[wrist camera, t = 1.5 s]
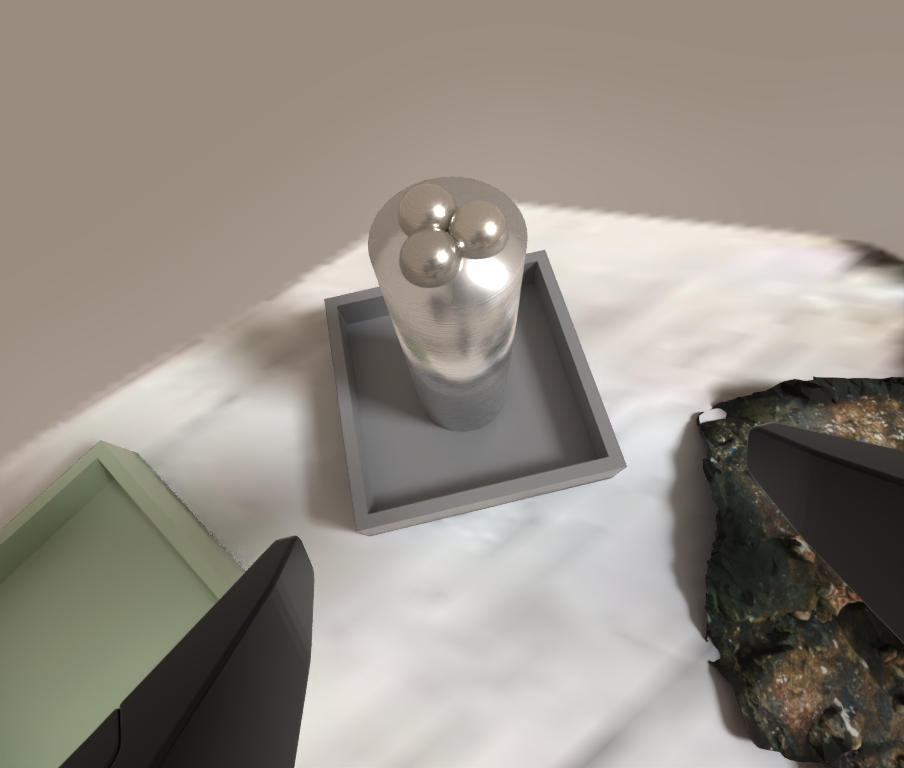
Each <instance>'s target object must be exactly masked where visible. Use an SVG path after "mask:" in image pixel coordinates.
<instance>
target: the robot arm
mask: <svg viewBox="0 0 904 768" xmlns="http://www.w3.org/2000/svg"><path fill="white" fill-rule="evenodd" d="M746 464H747V468H748V470H749V472H750V474H751V476H752V477H753V478H754V479H755V481H756V482H757V483H758V484H759V486H760V487H761V488H762V489H763V491H764V492H765V493H766V494H767V496H768V497H769V498H770V499H771V501H772V502H773V503H774V504H775V506H776V507H777V508H778V509H779V511H780V512H781V513H782V514H783V516H784V517H785V518H786V519H787V521H788V522H789V523H790V524H791V526H792V527H793V528H794V529H795V530H796V531H797V533H798V534H799V535H800V536H801V537H802V538H803V540H804V541H805V542H806V543H807V544H808V545H809V546H810V547H811V548H812V549H813V550H814V551H815V552H816V553H817V554H818V555H819V557H820V558H821V559H822V560H823V561H824V562H825V563H826V564H827V565H828V566H829V567H830V568H831V569H832V570H833V571H834V572H835V573H836V574H837V575H838V576H839V577H840V578H841V579H842V580H843V581H844V582H845V583H846V584H847V585H848V586H849V588H850V589H851V590H852V591H853V592H854V593H855V594H856V595H857V596H858V597H859V598H860V599H861V600H862V601H863V602H864V603H865V604H866V605H867V606H868V607H869V608H870V609H871V610H872V611H873V612H874V613H875V614H876V615H877V616H878V618H879V619H880V620H881V621H882V622H883V623H884V624H885V625H886V626H887V627H888V628H889V629H890V630H891V631H892V632H893V633H894V634H895V635H896V636H897V637H898V638H899V639H900V640H901V641H902V642H903V643H904V451H903V450H898V449H894V448H889V447H885V446H880V445H875V444H871V443H866V442H862V441H857V440H853V439H848V438H843V437H839V436H834V435H830V434H825V433H821V432H816V431H812V430H807V429H802V428H798V427H793V426H789V425H784V424H780V423H774V422H770V423H765V424H761V425H757V426H754V427H752V428H751V429H750V430H749V432H748V441H747V455H746ZM313 599H314V571H313V567H312V565H311V562H310V560H309V558H308V555H307V553H306V550H305V548H304V546H303V543H302V541H301V540H300V538H299V537H297V536H291V537H287V538H282V539H279V540H276V541H275V542H274V543H273V544H272V545H271V546H270V547H269V548H268V549H267V550H266V551H265V552H264V553H263V554H262V555H261V556H260V557H259V558H258V559H257V560H256V561H255V562H254V564H253V565H252V566H251V567H250V568H249V569H248V570H247V571H246V572H245V573H244V574H243V575H242V576H241V577H240V578H239V579H238V580H237V581H236V582H235V583H234V585H233V586H232V587H231V588H230V589H229V590H228V591H227V592H226V593H225V594H224V595H223V596H222V597H221V598H220V599H219V600H218V601H217V602H216V603H215V605H214V606H213V607H212V608H211V609H210V610H209V611H208V612H207V613H206V614H205V615H204V616H203V617H202V618H201V619H200V620H199V621H198V622H197V623H196V625H195V626H194V627H193V628H192V629H191V630H190V631H189V632H188V633H187V634H186V635H185V636H184V637H183V638H182V639H181V640H180V641H179V642H178V643H177V644H176V646H175V647H174V648H173V649H172V650H171V651H170V652H169V653H168V654H167V655H166V656H165V657H164V658H163V659H162V660H161V661H160V662H159V663H158V664H157V665H156V667H155V668H154V669H153V670H152V671H151V672H150V673H149V674H148V675H147V676H146V677H145V678H144V679H143V680H142V681H141V682H140V683H139V684H138V685H137V687H136V688H135V689H134V690H133V691H132V692H131V693H130V694H129V695H128V696H127V697H126V698H125V699H124V700H123V701H122V702H121V704H120V707H119V708H117V709H115V710H113V712H112V713H111V714H110V715H109V716H108V717H107V718H106V719H105V720H104V721H103V722H102V723H101V724H100V725H99V726H98V727H97V728H96V729H95V731H94V732H93V733H92V734H91V735H90V736H89V737H88V738H87V739H86V740H85V741H84V742H83V743H82V744H81V745H80V746H79V747H78V748H77V749H76V750H75V751H74V752H73V753H72V754H71V755H70V756H69V757H68V758H67V759H66V760H65V761H64V762H63V763H62V764H61V765H60V766H59V767H58V768H294V766H295V759H296V753H297V746H298V740H299V733H300V727H301V720H302V714H303V707H304V701H305V694H306V688H307V681H308V675H309V667H310V659H311V645H312V622H313Z"/></svg>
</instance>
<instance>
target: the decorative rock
mask: <svg viewBox="0 0 904 768" xmlns="http://www.w3.org/2000/svg"><path fill="white" fill-rule="evenodd" d="M715 408H720V409H722V410H724V411H726V412H727V416H726V418H725V419H721V420H716V421H710V422H705V423H702V424H700V421H699V416H698V418H697V425H698V426H700V434H701V435H702V436H703V437H704V438H705V439H706V441H707V444H708V447H709V450H708V454H707V459H703V468H704V472H705V476H706V478H707V480H708V482H709V485H710V487H711V489H712V499H713V500H714V502H715V503H716V504H717V506H718V507H719V508H720V509H719V511H718V513H717V515H716V522H717V530H716V533H715V536H716V542H714V543H713V544H712V545H713V548H714V550H713V551H712V553H711V559H710V560H709V561H707V563H708V569H707V575H706V587H707V591H708V594H707V593H706V605H707V607H706V606H705V609H706V613H707V619H708V624H707V629H708V630H707V633H706V641H707V642H708V640H707V636H708V635H709V636H711V637H712V640H713V642H714V644H715V646H716V648H717V649H718V650H719V651H720V654H721V658H720V659H718V660H716V661H715V662H711V661H709V662H710V664H712V665H713V666H715V667H716V668H717V669H718V670H719V672H720V673H721V674H722V675H723V676H724V677H725V678H726V679H727V680H728V681H729V682H730V683H731V685H732V686H733V687H734V690H735V694H736V698H737V700H738V702H739V704H740V707H741V710H742V713H743V717H744V722H745V726H746V729H747V732H748V734H749V736H750V738H751V739H752V741H753V742H754V744H755V745H756V746H757V747H759V748H761V749H766V750H772V751H777V752H780V753H781V754H782V755H783V756H784V757H785V758H787V759H789V760H793V761H798V762H817V763H828V764H830V765H831V766H832V767H833V768H904V643H903V642H902V641H901V640H900V639H899V638H898V637H897V636H896V635H895V634H894V633H893V632H892V631H891V630H890V629H889V628H888V627H887V626H886V625H885V624H884V623H883V622H882V621H881V620H880V619H879V618H878V616H877V615H876V614H875V613H874V612H873V611H872V610H871V609H870V608H869V607H868V606H867V605H866V604H865V603H864V602H863V601H862V600H861V599H860V598H859V597H858V596H857V595H856V594H855V593H854V592H853V591H852V590H851V589H850V588H849V586H848V585H847V584H846V583H845V582H844V581H843V580H842V579H841V578H840V577H839V576H838V575H837V574H836V573H835V572H834V571H833V570H832V569H831V568H830V567H829V566H828V565H827V564H826V563H825V562H824V561H823V560H822V559H821V558H820V557H819V555H818V554H817V553H816V552H815V551H814V550H813V549H812V548H811V547H810V546H809V545H808V544H807V543H806V542H805V541H804V540H803V538H802V537H801V536H800V535H799V534H798V533H797V531H796V530H795V529H794V528H793V527H792V526H791V524H790V523H789V522H788V521H787V519H786V518H785V517H784V516H783V514H782V513H781V512H780V511H779V509H778V508H777V507H776V506H775V504H774V503H773V502H772V501H771V499H770V498H769V497H768V496H767V494H766V493H765V492H764V491H763V489H762V488H761V487H760V486H759V484H758V483H757V482H756V481H755V479H754V478H753V477H752V476H751V474H750V472H749V470H748V468H747V464H746V455H747V441H748V432H749V430H750V429H751V428H752V427H754V426H757V425H761V424H765V423H770V422H774V423H780V424H784V425H789V426H793V427H798V428H802V429H807V430H812V431H816V432H821V433H825V434H830V435H834V436H839V437H843V438H848V439H853V440H857V441H862V442H866V443H871V444H875V445H880V446H885V447H889V448H894V449H898V450H903V451H904V377H890V378H885V379H870V378H850V379H846V378H820V377H814V378H813V380H810V381H802V380H797V379H793V380H788V381H784V382H782V383H779V384H777V385H776V386H774V387H773V388H771V389H769V390H767V391H763V392H756V393H753V394H752V395H748V396H744V397H737V398H736V399H733V400H729V401H727V402H721V403H718V404H717V405H716V406H714V408H712V409H715ZM702 413H703V412H701V413H700V414H699V415H701V414H702Z"/></svg>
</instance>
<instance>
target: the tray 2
mask: <svg viewBox="0 0 904 768" xmlns="http://www.w3.org/2000/svg"><path fill="white" fill-rule="evenodd" d="M324 300H325V307H326V315H327V322H328V329H329V336H330V344H331V351H332V358H333V365H334V373H335V380H336V387H337V395H338V402H339V409H340V416H341V424H342V431H343V438H344V446H345V453H346V460H347V467H348V475H349V482H350V489H351V496H352V504H353V511H354V518H355V526H356V532H359V533H362V534H365V535H368V536H372V535H376V534H380V533H385V532H389V531H393V530H397V529H401V528H405V527H410V526H414V525H418V524H422V523H426V522H430V521H435V520H439V519H443V518H447V517H451V516H455V515H459V514H464V513H468V512H472V511H476V510H480V509H484V508H489V507H493V506H497V505H501V504H505V503H509V502H514V501H518V500H522V499H526V498H530V497H534V496H539V495H543V494H547V493H551V492H555V491H559V490H563V489H568V488H572V487H576V486H580V485H584V484H588V483H593V482H597V481H601V480H605V479H609V478H612V477H613V476H615V475H616V474H618V473H619V472H620V471H622V470H623V469H624V468H626V467H627V466H626V463H625V460H624V458H623V455H622V452H621V450H620V447H619V445H618V442H617V439H616V437H615V434H614V431H613V429H612V426H611V423H610V421H609V418H608V415H607V413H606V410H605V407H604V405H603V402H602V400H601V397H600V394H599V392H598V389H597V386H596V384H595V381H594V378H593V376H592V373H591V370H590V368H589V365H588V363H587V360H586V357H585V355H584V352H583V349H582V347H581V344H580V341H579V339H578V336H577V333H576V331H575V328H574V325H573V323H572V320H571V318H570V315H569V312H568V310H567V307H566V304H565V302H564V299H563V296H562V294H561V291H560V288H559V286H558V283H557V281H556V278H555V275H554V273H553V270H552V267H551V265H550V262H549V259H548V257H547V254H546V251H545V250H542V251H537V252H533V253H528V254H526V255H525V262H524V270H523V277H522V284H521V292H520V299H519V306H518V313H517V321H516V328H515V335H514V342H513V350H512V357H511V364H510V371H509V379H508V386H507V393H506V399H505V403H504V405H503V408H502V410H501V411H500V413H499V414H498V415H497V417H496V418H495V419H494V420H493V421H492V422H490V423H489V424H487V425H486V426H484V427H482V428H480V429H477V430H473V431H468V432H457V431H451V430H448V429H445V428H443V427H441V426H439V425H437V424H436V423H435V422H433V421H432V420H431V419H430V418H429V416H428V415H427V414H426V412H425V411H424V409H423V407H422V404H421V401H420V399H419V396H418V393H417V390H416V387H415V384H414V382H413V379H412V376H411V373H410V370H409V368H408V365H407V362H406V359H405V356H404V353H403V351H402V348H401V345H400V342H399V339H398V336H397V334H396V331H395V328H394V325H393V322H392V320H391V317H390V314H389V311H388V308H387V305H386V303H385V300H384V297H383V294H382V291H381V288H380V287H377V288H372V289H368V290H363V291H359V292H354V293H350V294H345V295H341V296H336V297H332V298H327V299H324Z"/></svg>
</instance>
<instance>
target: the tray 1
mask: <svg viewBox="0 0 904 768" xmlns="http://www.w3.org/2000/svg"><path fill="white" fill-rule="evenodd" d="M244 573H245V571H244V570H243V569H242V568H241V567H240V566H239V565H238V563H237V562H236V561H235V560H234V559H233V558H232V557H231V556H230V555H229V554H228V552H227V551H226V550H225V549H224V548H223V547H222V546H221V545H220V544H219V542H218V541H217V540H216V539H215V538H214V537H213V536H212V535H211V534H210V533H209V531H208V530H207V529H206V528H205V527H204V526H203V525H202V524H201V523H200V522H199V520H198V519H197V518H196V517H195V516H194V515H193V514H192V513H191V512H190V510H189V509H188V508H187V507H186V506H185V505H184V504H183V503H182V502H181V501H180V499H179V498H178V497H177V496H176V495H175V494H174V493H173V492H172V491H171V489H170V488H169V487H168V486H167V485H166V484H165V483H164V482H163V481H162V480H161V478H160V477H159V476H158V475H157V474H156V473H155V472H154V471H153V470H152V469H151V467H150V466H149V465H148V464H147V463H146V462H145V461H144V460H143V459H142V457H141V456H140V455H139V454H138V453H135V452H132V451H130V450H127V449H124V448H121V447H118V446H115V445H112V444H110V443H107V442H104V441H100V442H99V443H98V444H96V445H95V446H94V447H93V448H92V449H91V450H90V451H89V452H87V453H86V454H85V455H84V456H83V457H82V458H81V459H80V460H79V461H77V462H76V463H75V464H74V465H73V466H72V467H71V468H70V469H68V470H67V471H66V472H65V473H64V474H63V475H62V476H61V477H60V478H58V479H57V480H56V481H55V482H54V483H53V484H52V485H51V486H49V487H48V488H47V489H46V490H45V491H44V492H43V493H42V494H41V495H39V496H38V497H37V498H36V499H35V500H34V501H33V502H32V503H30V504H29V505H28V506H27V507H26V508H25V509H24V510H23V511H22V512H20V513H19V514H18V515H17V516H16V517H15V518H14V519H13V520H11V521H10V522H9V523H8V524H7V525H6V526H5V527H4V528H3V529H1V530H0V768H58V767H59V766H60V765H61V764H62V763H63V762H64V761H65V760H66V759H67V758H68V757H69V756H70V755H71V754H72V753H73V752H74V751H75V750H76V749H77V748H78V747H79V746H80V745H81V744H82V743H83V742H84V741H85V740H86V739H87V738H88V737H89V736H90V735H91V734H92V733H93V732H94V731H95V729H96V728H97V727H98V726H99V725H100V724H101V723H102V722H103V721H104V720H105V719H106V718H107V717H108V716H109V715H110V714H111V713H112V712H113V710H115V709H117V708H119V707H120V704H121V702H122V701H123V700H124V699H125V698H126V697H127V696H128V695H129V694H130V693H131V692H132V691H133V690H134V689H135V688H136V687H137V685H138V684H139V683H140V682H141V681H142V680H143V679H144V678H145V677H146V676H147V675H148V674H149V673H150V672H151V671H152V670H153V669H154V668H155V667H156V665H157V664H158V663H159V662H160V661H161V660H162V659H163V658H164V657H165V656H166V655H167V654H168V653H169V652H170V651H171V650H172V649H173V648H174V647H175V646H176V644H177V643H178V642H179V641H180V640H181V639H182V638H183V637H184V636H185V635H186V634H187V633H188V632H189V631H190V630H191V629H192V628H193V627H194V626H195V625H196V623H197V622H198V621H199V620H200V619H201V618H202V617H203V616H204V615H205V614H206V613H207V612H208V611H209V610H210V609H211V608H212V607H213V606H214V605H215V603H216V602H217V601H218V600H219V599H220V598H221V597H222V596H223V595H224V594H225V593H226V592H227V591H228V590H229V589H230V588H231V587H232V586H233V585H234V583H235V582H236V581H237V580H238V579H239V578H240V577H241V576H242V575H243V574H244Z"/></svg>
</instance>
